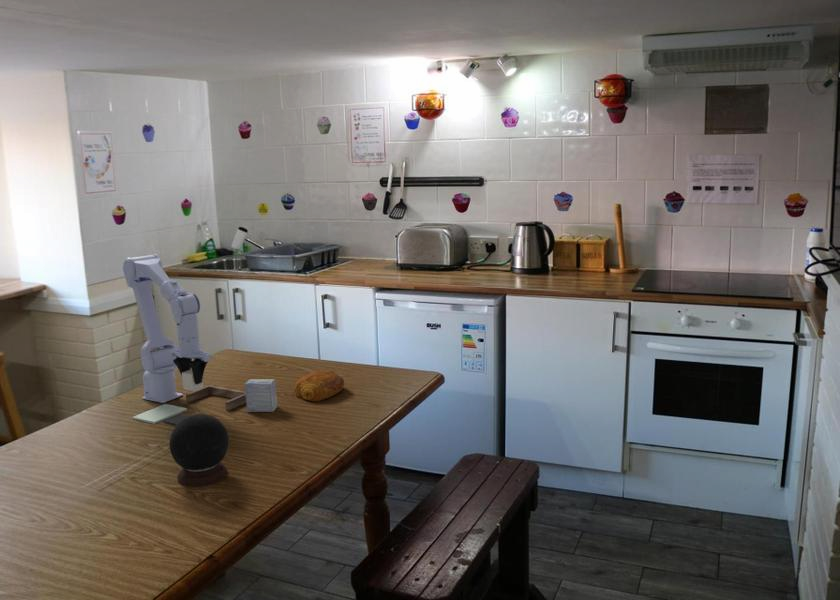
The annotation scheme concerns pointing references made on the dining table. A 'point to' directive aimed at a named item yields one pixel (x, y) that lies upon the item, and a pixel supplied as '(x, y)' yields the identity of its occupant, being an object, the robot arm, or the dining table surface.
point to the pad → (159, 413)
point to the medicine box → (261, 395)
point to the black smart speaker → (199, 450)
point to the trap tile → (175, 419)
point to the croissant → (318, 385)
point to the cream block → (190, 381)
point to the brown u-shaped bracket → (236, 395)
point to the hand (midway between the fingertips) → (192, 382)
